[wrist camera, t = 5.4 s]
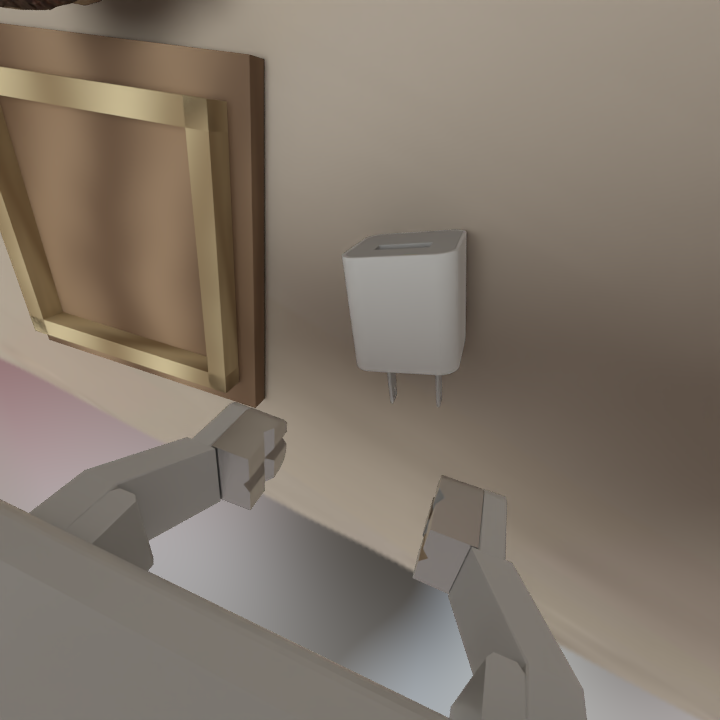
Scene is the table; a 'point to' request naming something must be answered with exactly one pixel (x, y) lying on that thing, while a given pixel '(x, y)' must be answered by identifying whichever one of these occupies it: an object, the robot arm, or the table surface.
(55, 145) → the picture frame
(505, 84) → the table surface
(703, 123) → the table surface
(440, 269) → the usb wall charger
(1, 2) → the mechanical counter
